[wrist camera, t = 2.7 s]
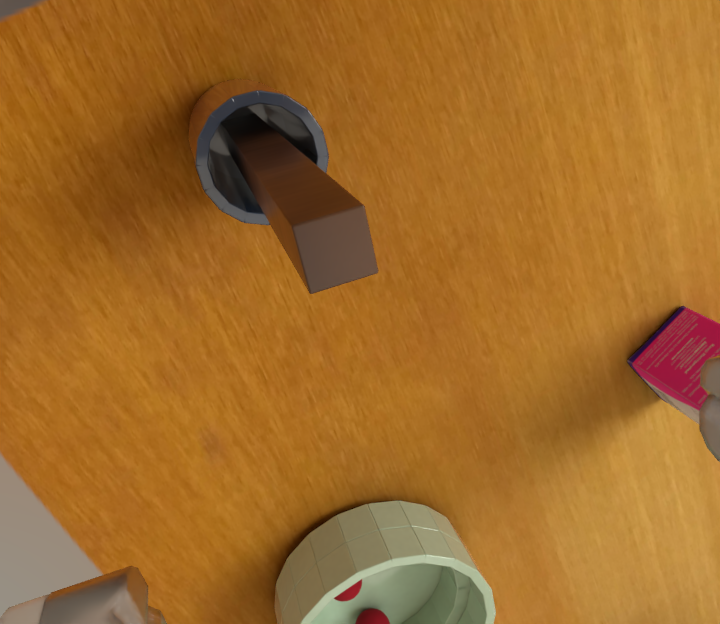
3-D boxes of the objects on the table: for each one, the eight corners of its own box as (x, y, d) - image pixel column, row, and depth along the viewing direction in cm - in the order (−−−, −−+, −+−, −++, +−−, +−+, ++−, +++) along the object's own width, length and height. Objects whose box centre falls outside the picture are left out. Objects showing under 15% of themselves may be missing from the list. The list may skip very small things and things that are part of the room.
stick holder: (207, 197, 34) (219, 239, 27) (173, 93, 32) (177, 110, 25) (304, 170, 35) (340, 204, 28) (278, 67, 33) (310, 76, 26)
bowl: (301, 673, 50) (318, 749, 45) (249, 540, 44) (260, 610, 38) (470, 604, 52) (505, 668, 47) (444, 467, 46) (481, 524, 41)
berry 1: (325, 586, 46) (334, 615, 44) (317, 561, 45) (325, 589, 43) (360, 573, 47) (370, 601, 45) (352, 547, 46) (362, 575, 43)
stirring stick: (231, 157, 33) (310, 295, 16) (221, 122, 33) (291, 226, 15) (265, 148, 34) (379, 273, 16) (255, 113, 33) (364, 204, 15)
